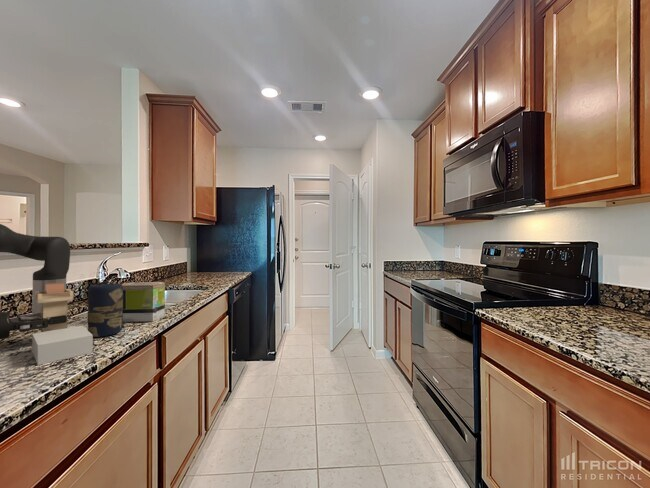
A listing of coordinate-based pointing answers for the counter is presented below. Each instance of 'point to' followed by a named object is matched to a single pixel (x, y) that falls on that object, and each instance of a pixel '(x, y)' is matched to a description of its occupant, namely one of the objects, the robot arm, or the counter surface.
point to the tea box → (143, 301)
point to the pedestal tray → (54, 306)
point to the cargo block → (54, 288)
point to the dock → (61, 344)
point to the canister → (105, 309)
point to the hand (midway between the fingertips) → (64, 316)
